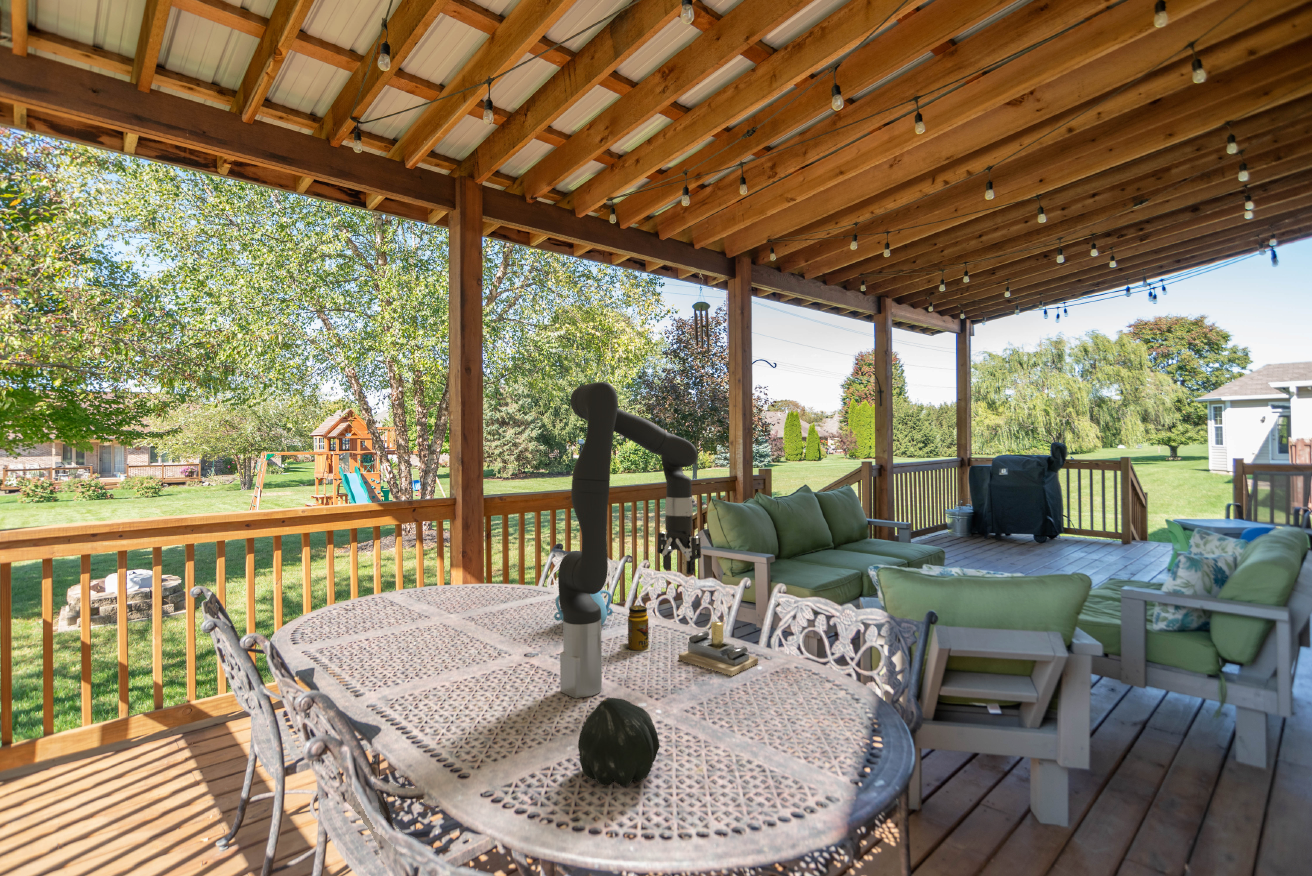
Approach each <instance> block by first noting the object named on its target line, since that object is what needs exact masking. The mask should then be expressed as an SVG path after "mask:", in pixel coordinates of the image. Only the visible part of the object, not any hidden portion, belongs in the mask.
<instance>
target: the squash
mask: <svg viewBox="0 0 1312 876" xmlns="http://www.w3.org/2000/svg"><path fill="white" fill-rule="evenodd" d="M577 743H578V745H577V747H578V752H579V763H580V767H581V770H582V773H583V774H584V775H585V776H586V777H587V778H589V779H590V780H594V781H597V783H598V784H600V785H601V786H610V785H612V784H614V783H615V782H616V784H618V785H619V786H620V787H628V786H629V785H630V784H631V783H632V781H635V782H641V781H643V780H644V779H646V778H647V777H648V776H649V775H650V772H651V770H652V768H653V763H654V762H655V760H656V758H657V754H658V751H659V749H660V740H659V735H658V731H657V729H656V726H655V725H654V723H653V719H652V717H651V716H650V714H649V712H648V711H646V710H645V709H644V708H642V707H640V706H639V705H636V704H633V703H632V702H630V701H628V700H626V699H624V698H618V697H617V698H616V697H609V698H605V699H603V700H602V701H601V702H600V703H599V704H598V705H597V706H596V707H595V709H593V710H592V711H591V712H590V714H589V715H588V716H587V718H586V719H585V722H584V724H583V726H582V727H581V730H580V733H579V737H578V742H577Z"/></svg>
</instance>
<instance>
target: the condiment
mask: <svg viewBox="0 0 1312 876" xmlns="http://www.w3.org/2000/svg"><path fill="white" fill-rule="evenodd" d="M649 634H650V633H649V616H648V607H647V606H645V605H640V604H639V605H638V604H636V605H631V606H630V607H629V608H628V617H627V643H619V645H620V650H621V653H623V654H624V653H643V652H651V651H652V649H651V647H650V644H649V643H650V642H649V641H650V640H649Z"/></svg>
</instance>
